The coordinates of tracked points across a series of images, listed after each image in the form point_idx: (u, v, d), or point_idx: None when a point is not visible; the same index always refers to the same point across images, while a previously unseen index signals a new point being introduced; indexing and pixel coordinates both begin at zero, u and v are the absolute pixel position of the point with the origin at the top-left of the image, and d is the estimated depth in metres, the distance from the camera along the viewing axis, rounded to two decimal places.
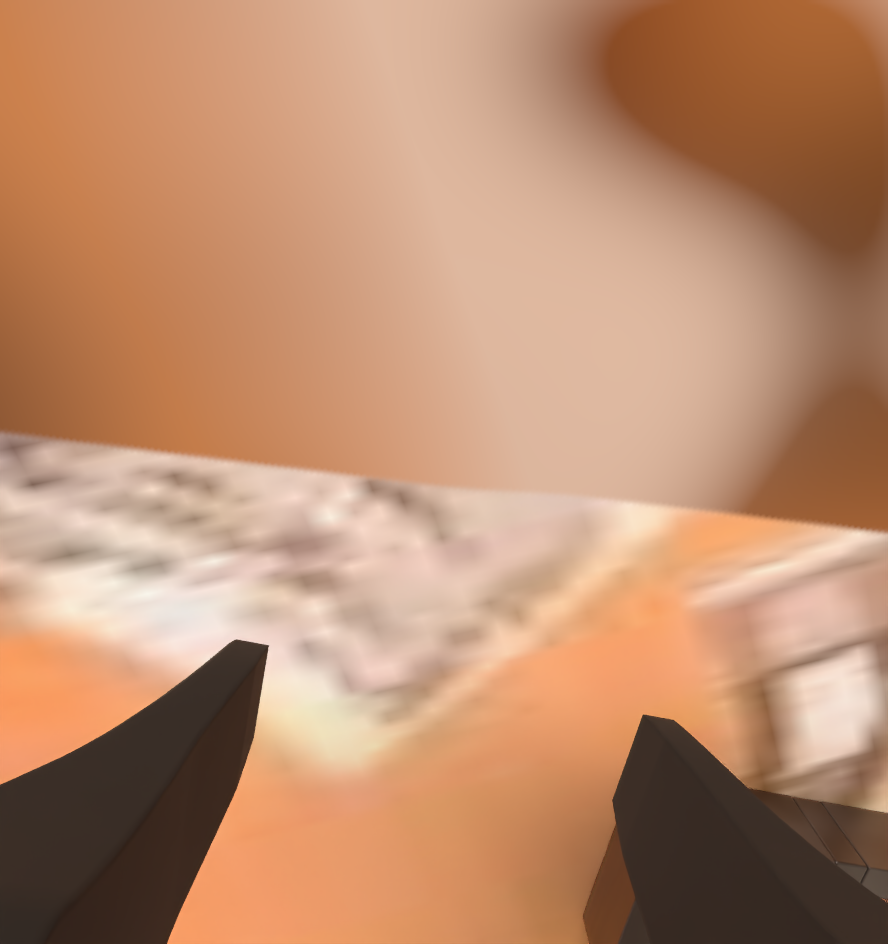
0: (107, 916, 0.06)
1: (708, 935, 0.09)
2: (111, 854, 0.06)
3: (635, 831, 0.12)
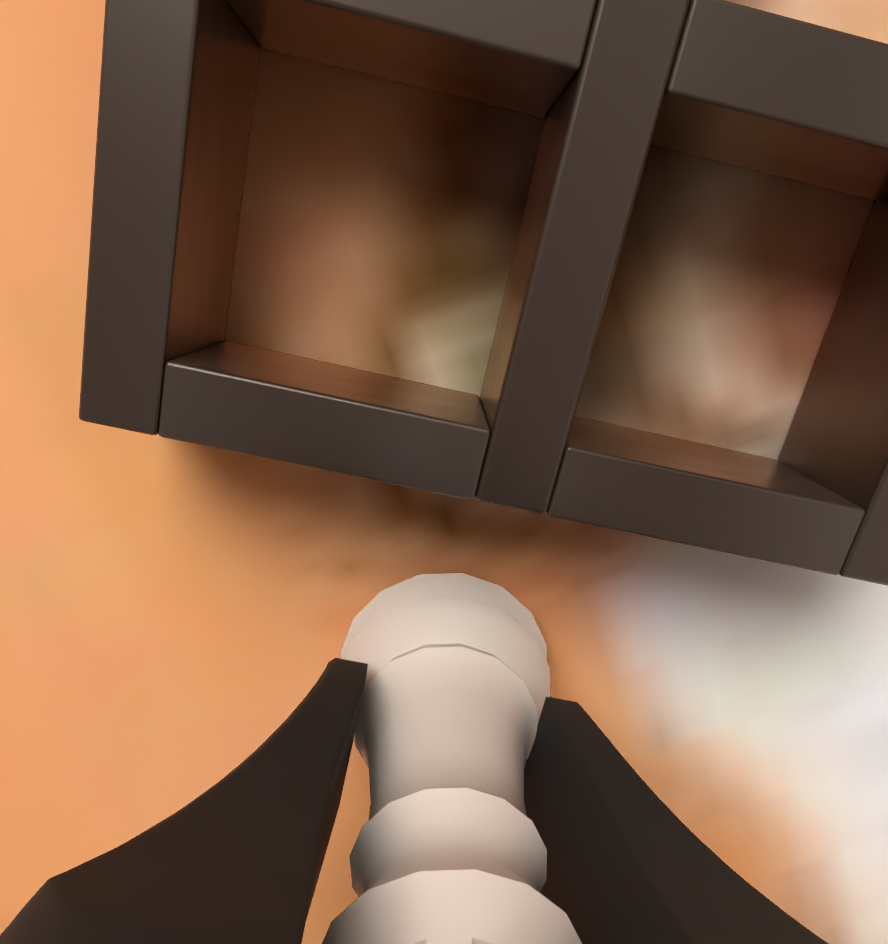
0: None
1: (580, 914, 0.09)
2: (307, 885, 0.06)
3: (532, 814, 0.12)
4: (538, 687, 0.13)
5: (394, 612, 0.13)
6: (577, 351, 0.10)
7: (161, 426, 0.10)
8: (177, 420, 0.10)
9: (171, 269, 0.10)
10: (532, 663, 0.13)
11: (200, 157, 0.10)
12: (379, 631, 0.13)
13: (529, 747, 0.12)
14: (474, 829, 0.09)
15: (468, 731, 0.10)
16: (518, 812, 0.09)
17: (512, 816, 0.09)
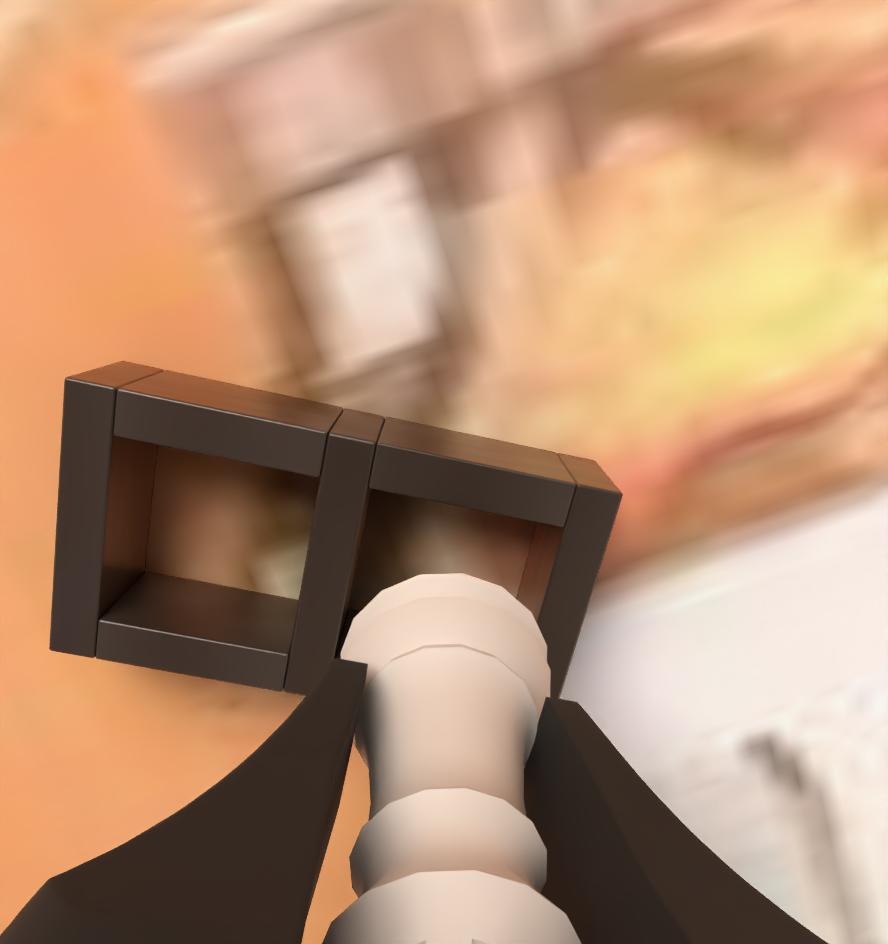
0: None
1: (580, 914, 0.09)
2: (307, 885, 0.06)
3: (533, 814, 0.12)
4: (538, 687, 0.13)
5: (394, 612, 0.13)
6: (333, 614, 0.17)
7: (97, 653, 0.18)
8: (106, 650, 0.18)
9: (100, 574, 0.17)
10: (532, 664, 0.13)
11: (117, 508, 0.17)
12: (379, 631, 0.13)
13: (529, 747, 0.12)
14: (474, 830, 0.09)
15: (468, 732, 0.10)
16: (518, 813, 0.09)
17: (512, 817, 0.09)
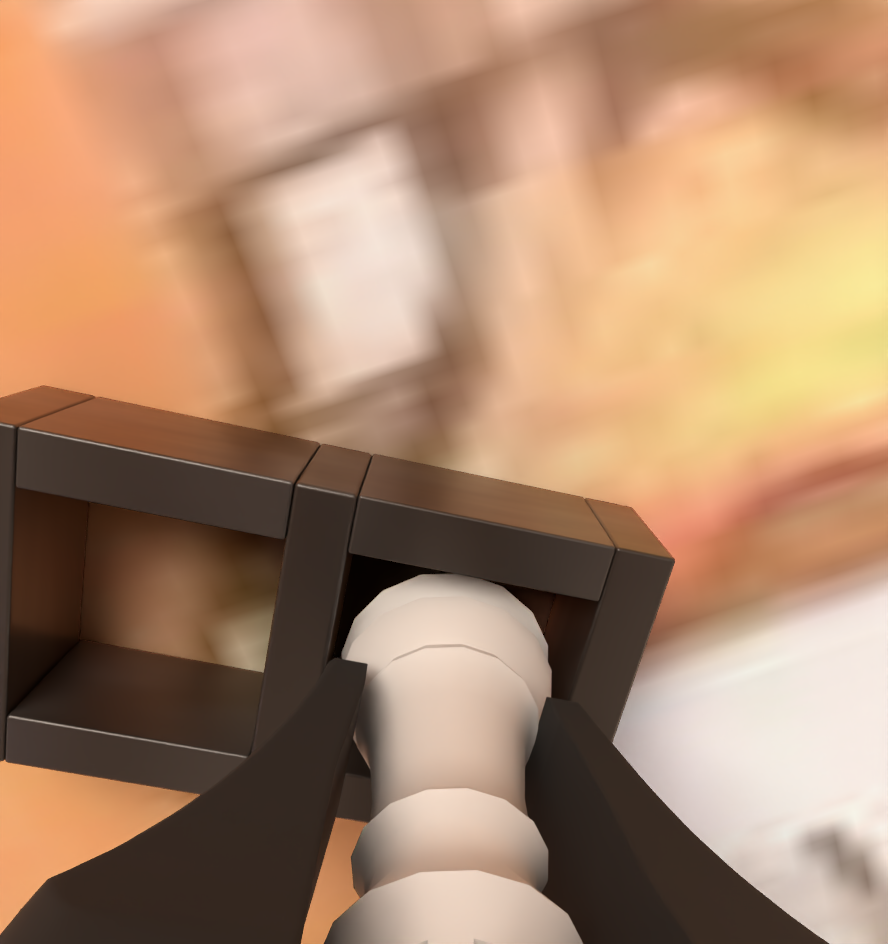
0: None
1: (581, 915, 0.09)
2: (306, 885, 0.06)
3: (533, 814, 0.12)
4: (539, 687, 0.13)
5: (395, 612, 0.13)
6: None
7: (7, 756, 0.14)
8: (18, 752, 0.14)
9: (6, 660, 0.13)
10: (534, 663, 0.13)
11: (29, 575, 0.13)
12: (380, 631, 0.13)
13: (530, 747, 0.12)
14: (476, 830, 0.09)
15: (470, 732, 0.10)
16: (520, 813, 0.09)
17: (513, 817, 0.09)
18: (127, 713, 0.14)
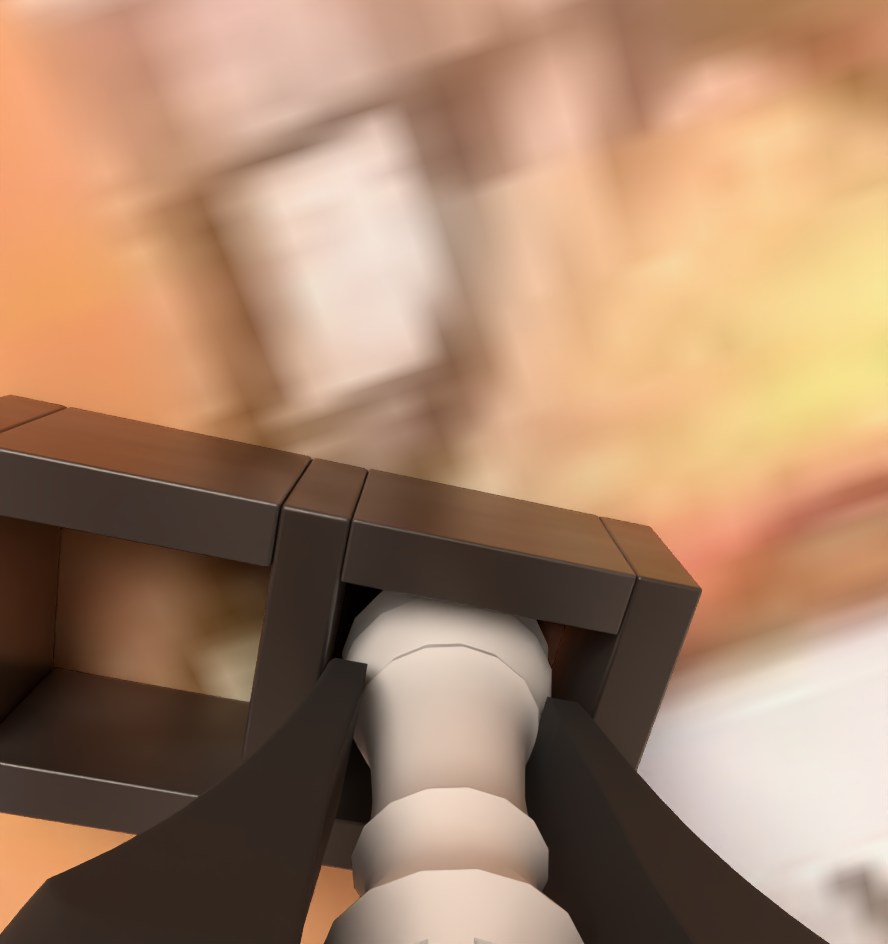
0: None
1: (582, 915, 0.09)
2: (306, 885, 0.06)
3: (534, 815, 0.12)
4: (539, 687, 0.13)
5: (395, 612, 0.13)
6: None
7: None
8: None
9: None
10: (534, 663, 0.13)
11: None
12: (380, 631, 0.13)
13: (530, 747, 0.12)
14: (476, 829, 0.09)
15: (470, 731, 0.10)
16: (520, 812, 0.09)
17: (513, 816, 0.09)
18: (101, 752, 0.13)
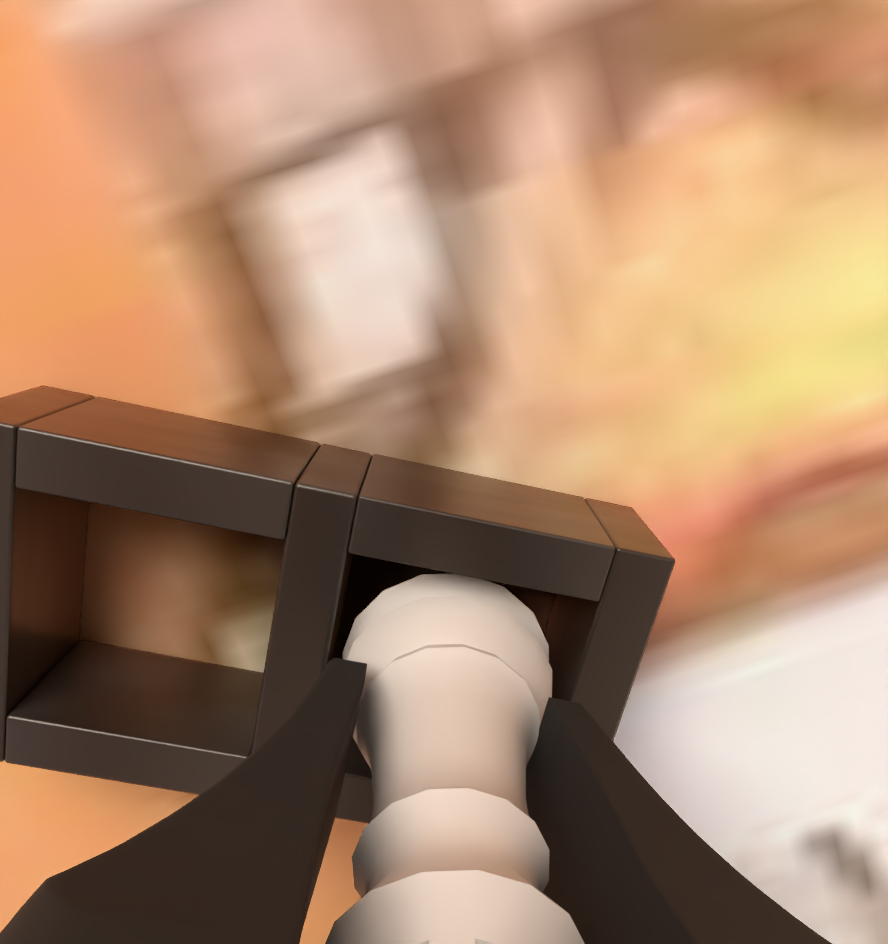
0: None
1: (584, 915, 0.09)
2: (305, 885, 0.06)
3: (535, 815, 0.12)
4: (540, 687, 0.13)
5: (396, 612, 0.13)
6: None
7: (6, 756, 0.14)
8: (17, 753, 0.14)
9: (6, 660, 0.13)
10: (534, 663, 0.13)
11: (28, 575, 0.13)
12: (381, 631, 0.13)
13: (531, 747, 0.12)
14: (477, 830, 0.09)
15: (470, 732, 0.10)
16: (521, 812, 0.09)
17: (515, 817, 0.09)
18: (127, 713, 0.14)
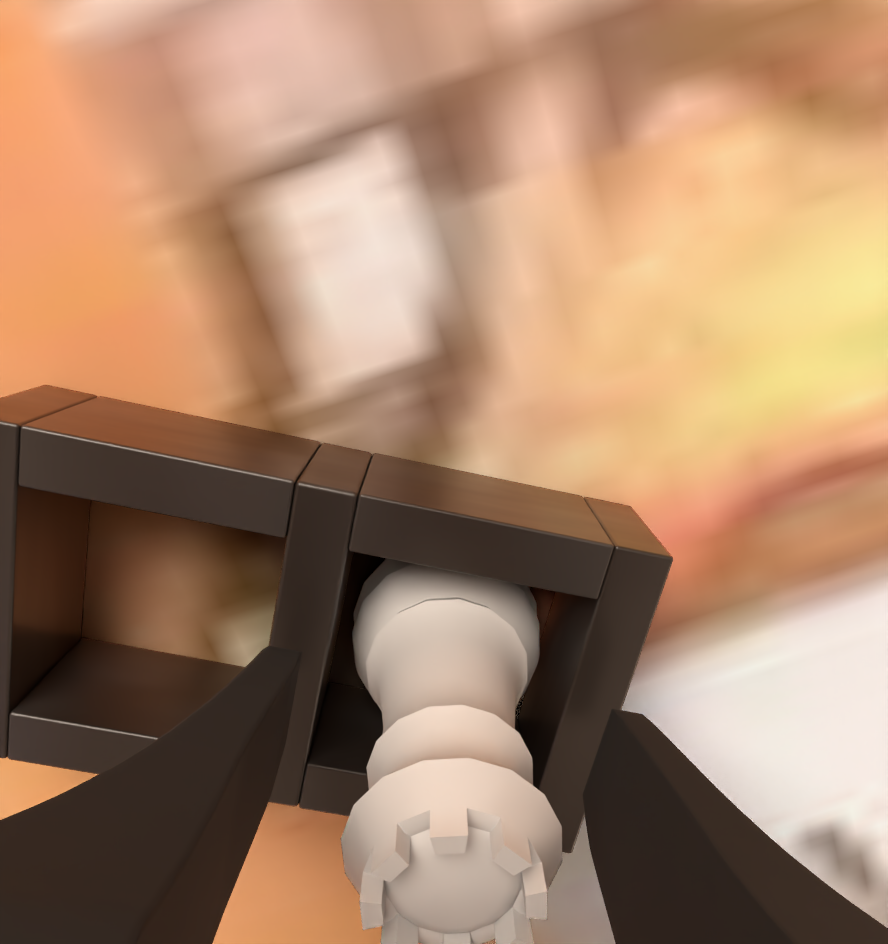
0: (173, 926, 0.06)
1: (667, 929, 0.09)
2: (178, 865, 0.06)
3: (602, 826, 0.12)
4: (528, 636, 0.15)
5: (400, 573, 0.15)
6: (305, 705, 0.14)
7: (9, 753, 0.14)
8: (20, 749, 0.14)
9: (9, 657, 0.13)
10: (522, 615, 0.14)
11: (31, 573, 0.14)
12: (387, 590, 0.14)
13: (521, 687, 0.14)
14: (470, 737, 0.11)
15: (465, 666, 0.12)
16: (507, 725, 0.11)
17: (501, 729, 0.11)
18: (129, 710, 0.15)
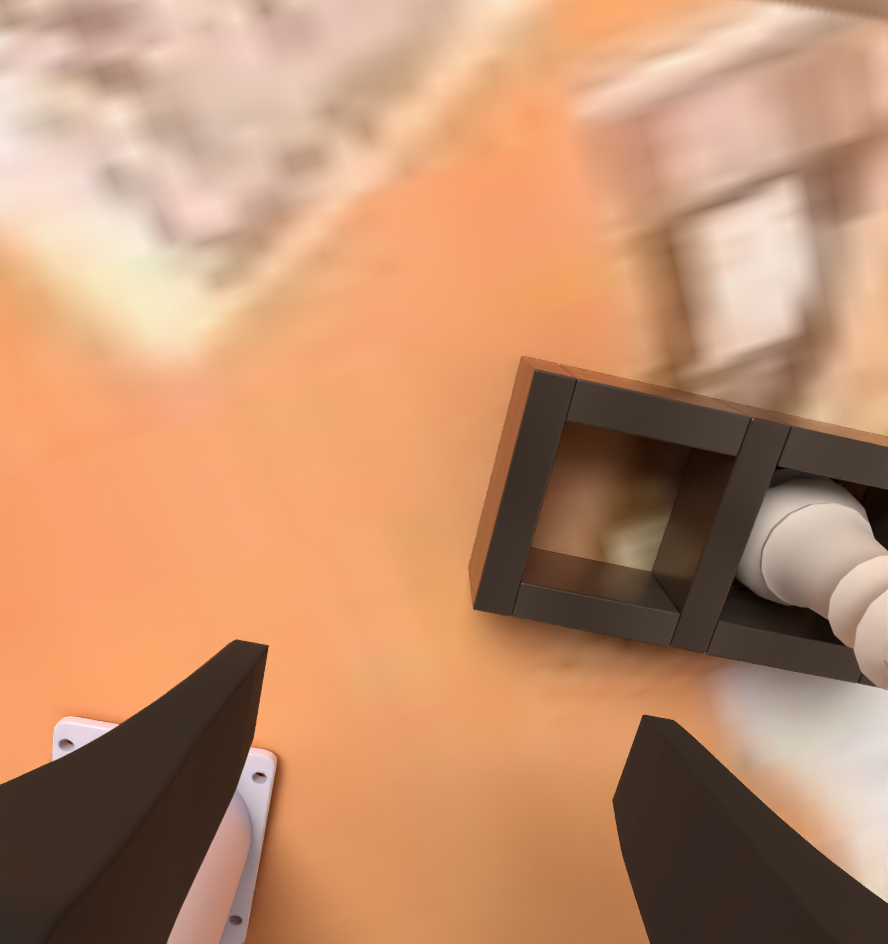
0: (107, 916, 0.06)
1: (708, 935, 0.09)
2: (111, 854, 0.06)
3: (635, 832, 0.12)
4: None
5: (777, 489, 0.21)
6: (727, 577, 0.20)
7: (514, 612, 0.20)
8: (523, 609, 0.20)
9: (531, 541, 0.19)
10: (865, 517, 0.21)
11: None
12: (771, 500, 0.20)
13: None
14: None
15: (869, 540, 0.18)
16: None
17: None
18: (586, 586, 0.21)
